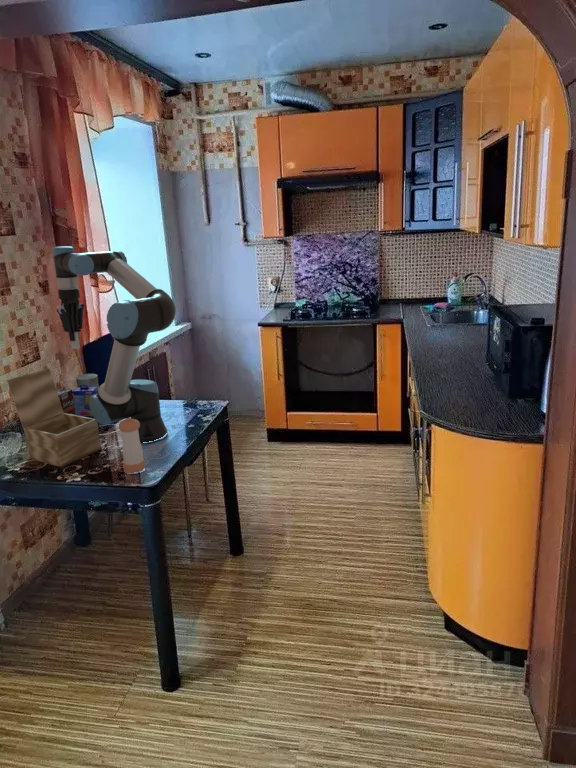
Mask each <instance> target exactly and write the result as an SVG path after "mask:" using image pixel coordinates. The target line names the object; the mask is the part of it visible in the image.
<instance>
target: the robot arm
mask: <svg viewBox="0 0 576 768" xmlns="http://www.w3.org/2000/svg"><path fill="white" fill-rule="evenodd" d="M52 255H53V256H52V258H53V263H54V270H55V276H56V277H55V278H56V283H57V284H56V285H57V288H58V290H57V292H58V293H57V294H58V299H60V307H59V308H57V309H56V312H57V314H58V315H59V318H60V321H61V324H62V328H63V331H64V332H65V333H68V334H69V341H70V346H71V349H73V350H79V349H81V346H80V332H82V329H83V321H84V320H83V319H84V317H83V316H84V309H85V304H84V303H81V302H80V300H79V299H80V297H81V296H80V288H78V287H79V278H78V276H88V275H90V274H100V273H107V274H108V275H109V276H110V277H111V278H112V279H113V280H114V281H116V282H117V283H118V284H119V285H120V286H122V287H123V289H125V290H126V291H127V293H129V294H131V297H133V298H134V299H132V300H130V299H126V300H125V299H124V300H122V301H121V300H120V301H118V302H115V303H113V304H111V306H110V307H109V308H108V310H107V313H106V322H107V324H106V325H107V331H108V332H109V334H110V335H111V337H112V339H113V345H112V349H111V354H110V357H109V362H108V366H107V371H106V375H105V378H104V379H105V380H104V382H103V383H102V384H101V385H99V390H98V394H96V395H95V394H94V395H92V396H91V397H90V398H89V406H90V409H91V412H92V414H93V416H92V417H93V419H95V420H96V421H97V423H98V425H104V426H105V425H109V424H110V425H111V424H112V423H115V422H120V421H123V420H126V419H127V418H131V419H136V420H138V421H139V423H140V427H139V429H138V432H139V440H140V443H143V442H149V441H154V440H156V439H159V438H161V437H163V436H164V435H165V434H166V433H167V434H168V429H167V427H166V426H165V422H164V420H163V418H162V412H161V404H160V403H161V402H160V391H159V387H158V383H157V382H156V381H154V380H150V379H132V378H133V373H134V370H135V366H136V362H137V358H138V355H139V352H140V348H141V346H143V345H145V344H146V342H147V339H148V336H149V334H151V333H152V334H153V333H157V332H162V331H164V330H167V328H169V327H170V326H172V325H171V324H173V322H174V320H175V318H176V306H175V302H174V299H172V298H171V296H170V295H169V294H168V293H167V292H166V291H164V290H163V289H162V288H157V287H156V286H154V285H153V284H152V283H151V282H150V281H148V280H147V279H146V278H145V277H144V276H142V274H140V273H139V272H138V271H137V270H135V269H134V268H133V267H132V266H131V265H130V264H128V260H127V256H126V255H125V253H124V252H123V251H122V250H110V251H108V250H107V251H97V252H81V253H80V252H79V253H78V252H77V253H76V252H75V248H74V247H73V246H69V245H68V246H67V245H66V246H65V245H64V246H63V245H62V246H55V247H53V249H52Z"/></svg>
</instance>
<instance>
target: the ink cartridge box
mask: <svg viewBox="0 0 576 768" xmlns="http://www.w3.org/2000/svg"><path fill="white" fill-rule="evenodd" d="M79 386H80V388H78V387H76V388H75V389H72V392H73V399H74V405H75V412H76V415H77V416H82V417H94V416H93V414H92V412H91V409H90V406H89V398H90V397H91V396H92V395H94V394H95V395H96V394H98V388H97V387H88V386H87V385H79ZM81 386H86V387H81Z"/></svg>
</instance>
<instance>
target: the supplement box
mask: <svg viewBox="0 0 576 768" xmlns="http://www.w3.org/2000/svg"><path fill="white" fill-rule="evenodd" d="M57 393H58V397H59V400H60V403H61V406H62V409H63V412H64V413H67V414H72V415H76V410H75V404H74V398H73V389H68V388H62V389H61V390H58V391H57ZM62 414H63V413H62ZM59 415H60V414H59ZM56 416H58V415H56Z"/></svg>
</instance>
